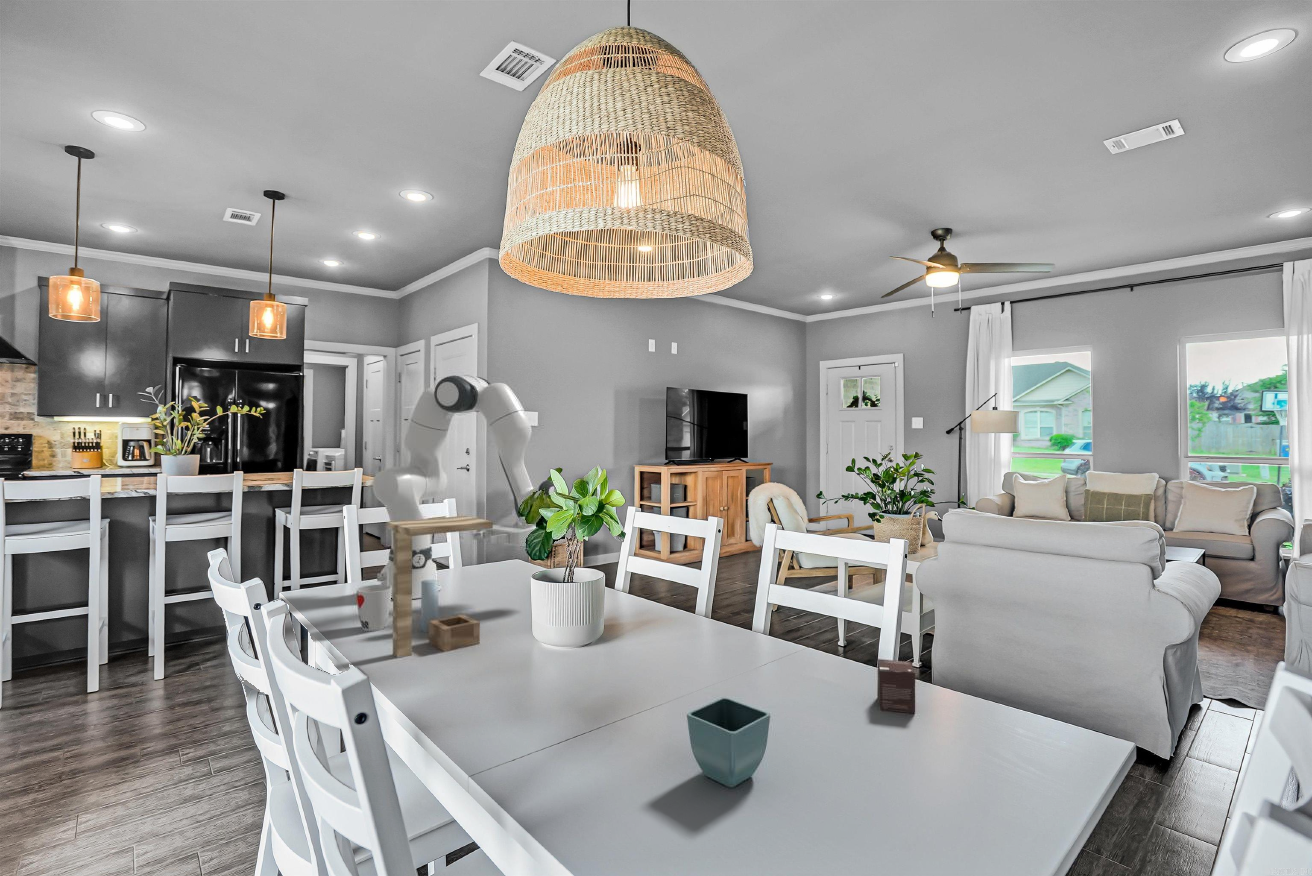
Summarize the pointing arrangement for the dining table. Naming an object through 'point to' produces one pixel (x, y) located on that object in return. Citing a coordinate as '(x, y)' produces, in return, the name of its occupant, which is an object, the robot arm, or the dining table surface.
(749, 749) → the flower pot
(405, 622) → the wooden l-shaped post
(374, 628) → the cup
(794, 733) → the dining table surface
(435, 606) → the peg
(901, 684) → the box
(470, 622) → the socket block
